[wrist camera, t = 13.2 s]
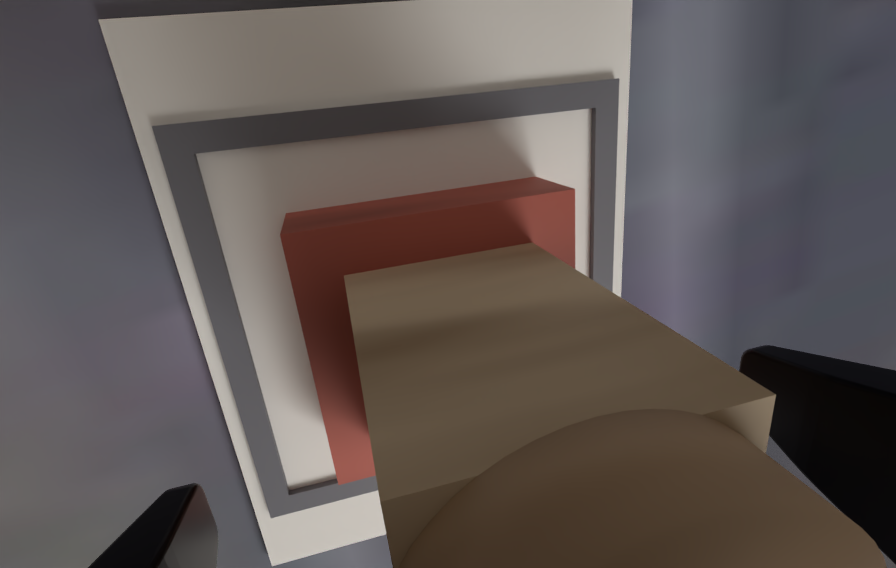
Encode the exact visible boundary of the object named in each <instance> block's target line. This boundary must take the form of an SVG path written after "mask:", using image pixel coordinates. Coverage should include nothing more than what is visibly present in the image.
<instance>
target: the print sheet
mask: <svg viewBox="0 0 896 568" xmlns="http://www.w3.org/2000/svg"><path fill="white" fill-rule="evenodd" d="M632 1H633V0H410V1H394V2H377V3H361V4H344V5H328V6H311V7H295V8H279V9H262V10H246V11H229V12H213V13H196V14H180V15H164V16H147V17H131V18H114V19H98V20H99V24H100V27H101V30H102V33H103V36H104V39H105V42H106V46H107V49H108V52H109V55H110V58H111V61H112V64H113V68H114V71H115V74H116V77H117V80H118V83H119V86H120V90H121V93H122V96H123V99H124V102H125V105H126V108H127V112H128V115H129V118H130V121H131V124H132V127H133V130H134V134H135V137H136V140H137V143H138V146H139V149H140V152H141V156H142V159H143V162H144V165H145V168H146V171H147V174H148V178H149V181H150V184H151V187H152V190H153V193H154V196H155V200H156V203H157V206H158V209H159V212H160V215H161V218H162V222H163V225H164V228H165V231H166V234H167V237H168V240H169V244H170V247H171V250H172V253H173V256H174V259H175V263H176V266H177V269H178V272H179V275H180V278H181V281H182V285H183V288H184V291H185V294H186V297H187V300H188V303H189V307H190V310H191V313H192V316H193V319H194V322H195V325H196V329H197V332H198V335H199V338H200V341H201V344H202V347H203V351H204V354H205V357H206V360H207V363H208V366H209V369H210V373H211V376H212V379H213V382H214V385H215V388H216V391H217V395H218V398H219V401H220V404H221V407H222V410H223V413H224V417H225V420H226V423H227V426H228V429H229V432H230V435H231V439H232V442H233V445H234V448H235V451H236V454H237V457H238V461H239V464H240V467H241V470H242V473H243V476H244V479H245V483H246V486H247V489H248V492H249V495H250V498H251V502H252V505H253V508H254V511H255V514H256V517H257V520H258V524H259V527H260V530H261V533H262V536H263V539H264V542H265V546H266V549H267V552H268V555H269V558H270V561H271V564H272V566H275V565H278V564H282V563H285V562H289V561H292V560H296V559H299V558H303V557H307V556H310V555H314V554H317V553H321V552H324V551H328V550H331V549H335V548H339V547H342V546H346V545H349V544H353V543H356V542H360V541H363V540H367V539H371V538H374V537H378V536H381V535H385V534H386V529H385V524H384V519H383V514H382V509H381V504H380V498H379V492H378V486H377V479H376V476H372V477H368V478H364V479H360V480H357V481H353V482H349V483H345V484H341V485H338V481H337V476H336V472H335V468H334V464H333V459H332V455H331V451H330V447H329V442H328V438H327V434H326V430H325V425H324V421H323V417H322V412H321V408H320V404H319V400H318V395H317V391H316V387H315V383H314V378H313V374H312V370H311V366H310V361H309V357H308V353H307V348H306V344H305V340H304V336H303V331H302V327H301V323H300V319H299V314H298V310H297V306H296V302H295V297H294V293H293V289H292V284H291V280H290V276H289V272H288V267H287V263H286V259H285V255H284V250H283V246H282V242H281V238H280V233H281V229H282V226H283V222H284V219H285V215H286V213H291V212H298V211H305V210H312V209H318V208H325V207H332V206H339V205H346V204H352V203H359V202H366V201H373V200H380V199H387V198H393V197H400V196H407V195H414V194H421V193H427V192H434V191H441V190H448V189H455V188H461V187H468V186H475V185H482V184H489V183H495V182H502V181H509V180H516V179H523V178H529V177H539V178H542V179H545V180H548V181H551V182H555V183H558V184H561V185H564V186H567V187H570V188H574V189H575V269H576V270H577V271H579V272H581V273H582V274H584V275H585V276H587V277H589V278H590V279H592V280H593V281H595V282H597V283H598V284H600V285H601V286H603V287H605V288H606V289H608V290H609V291H611V292H613V293H614V294H616V295H617V296H619V297H621V280H622V254H623V229H624V203H625V178H626V153H627V127H628V102H629V77H630V51H631V26H632Z"/></svg>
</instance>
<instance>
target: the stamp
mask: <svg viewBox="0 0 896 568" xmlns="http://www.w3.org/2000/svg"><path fill="white" fill-rule="evenodd" d="M280 238H281V242H282V246H283V250H284V255H285V259H286V263H287V267H288V272H289V276H290V280H291V284H292V289H293V293H294V297H295V302H296V306H297V310H298V314H299V319H300V323H301V327H302V331H303V336H304V340H305V344H306V348H307V353H308V357H309V361H310V366H311V370H312V374H313V378H314V383H315V387H316V391H317V395H318V400H319V404H320V408H321V412H322V417H323V421H324V425H325V430H326V434H327V438H328V442H329V447H330V451H331V455H332V459H333V464H334V468H335V472H336V476H337V481H338V485H341V484H345V483H349V482H353V481H357V480H360V479H364V478H368V477H372V476H376V479H377V486H378V492H379V498H380V504H381V509H382V514H383V519H384V524H385V529H386V534H387V539H388V544H389V549H390V555H391V560H392V565H393V568H887V567H886V563H885V560H884V557H883V555H882V553H881V551H880V550H879V548H878V546H877V544H876V543H875V541H874V540H873V539H872V538H871V537H870V536H869V535H868V534H867V533H866V532H865V531H864V530H863V529H862V528H861V527H860V526H859V525H857V524H856V523H855V522H853V521H852V520H851V519H850V518H848V517H847V516H846V515H844V514H843V513H842V512H840V511H839V510H838V509H837V508H835V507H834V506H833V505H831V504H830V503H829V502H828V501H826V500H825V499H824V498H822V497H821V496H820V495H818V494H817V493H816V492H815V491H813V490H812V489H811V488H809V487H808V486H807V485H805V484H804V483H803V482H802V481H800V480H799V479H798V478H796V477H795V476H794V475H793V474H791V473H790V472H789V471H787V470H786V469H785V468H783V467H782V466H781V465H780V464H778V463H777V462H776V461H774V460H773V459H772V458H770V457H769V456H768V455H767V454H766V449H767V443H768V437H769V432H770V426H771V421H772V415H773V409H774V404H775V398H776V394H774V393H773V392H771V391H769V390H768V389H766V388H765V387H763V386H761V385H760V384H758V383H757V382H755V381H753V380H752V379H750V378H749V377H747V376H745V375H744V374H742V373H741V372H739V371H737V370H736V369H734V368H733V367H731V366H729V365H728V364H726V363H725V362H723V361H721V360H720V359H718V358H717V357H715V356H713V355H712V354H710V353H709V352H707V351H705V350H704V349H702V348H701V347H699V346H697V345H696V344H694V343H693V342H691V341H689V340H688V339H686V338H685V337H683V336H681V335H680V334H678V333H677V332H675V331H673V330H672V329H670V328H669V327H667V326H665V325H664V324H662V323H661V322H659V321H657V320H656V319H654V318H653V317H651V316H649V315H648V314H646V313H645V312H643V311H641V310H640V309H638V308H637V307H635V306H633V305H632V304H630V303H629V302H627V301H625V300H624V299H622V298H621V297H619V296H617V295H616V294H614V293H613V292H611V291H609V290H608V289H606V288H605V287H603V286H601V285H600V284H598V283H597V282H595V281H593V280H592V279H590V278H589V277H587V276H585V275H584V274H582V273H581V272H579V271H577V270H576V269H575V189H574V188H570V187H567V186H564V185H561V184H558V183H555V182H551V181H548V180H545V179H542V178H539V177H529V178H523V179H516V180H509V181H502V182H495V183H489V184H482V185H475V186H468V187H461V188H455V189H448V190H441V191H434V192H427V193H421V194H414V195H407V196H400V197H393V198H387V199H380V200H373V201H366V202H359V203H352V204H346V205H339V206H332V207H325V208H318V209H312V210H305V211H298V212H291V213H286V215H285V219H284V222H283V226H282V229H281V233H280Z"/></svg>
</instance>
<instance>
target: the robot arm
mask: <svg viewBox="0 0 896 568" xmlns="http://www.w3.org/2000/svg"><path fill="white" fill-rule="evenodd" d="M739 372H741V373H742V374H744V375H745V376H747V377H749V378H750V379H752V380H753V381H755V382H757V383H758V384H760V385H761V386H763V387H765V388H766V389H768V390H769V391H771V392H773V393H774V394H776V398H775V404H774V409H773V415H772V421H771V426H770V432H769V436H770V437H771V438H772V439H773V440H774V441H775V443H776V444H777V445H778V446H779V447H780V448H781V449H782V451H783V452H784V453H785V454H786V455H787V456H788V457H789V459H790V460H791V461H792V462H793V463H794V464H795V465H796V466H797V468H798V469H799V470H800V471H801V472H802V473H803V474H804V475H805V476H806V477H807V478H808V479H809V480H810V481H811V482H812V483H813V484H814V485H815V486H816V487H817V488H818V489H819V490H820V491H821V492H822V493H823V494H824V495H825V496H826V497H827V498H828V499H829V500H830V501H831V502H832V503H833V504H834V505H835V506H836V507H837V508H838V509H839V510H840V511H841V512H842V513H843V514H844V515H846V516H847V517H848V518H850V519H851V520H852V521H853V522H855V523H856V524H857V525H859V526H860V527H861V528H862V529H863V530H864V531H865V532H866V533H867V534H868V535H869V536H870V537H871V538H872V539H873V540H874V541H875V543H876V544H877V546H878V548H879V549H880V550H881V551H882V552H883V553H884V554H885V555H886V556H887V557H889V558H890V559H891V560H892V561H893V562H894V563H895V564H896V371H895V370H890V369H885V368H880V367H875V366H870V365H865V364H860V363H855V362H850V361H845V360H840V359H835V358H830V357H825V356H820V355H815V354H810V353H805V352H800V351H795V350H790V349H785V348H780V347H775V346H770V345H766V346H760V347H756V348H752V349H748V350H746V351H745V352H744V353H743V355H742V357H741V362H740V369H739ZM217 552H218V531H217V526H216V523H215V520H214V517H213V514H212V512H211V509H210V506H209V503H208V501H207V498H206V495H205V492H204V490H203V488H202V487H201V486H200V485H199V484H196V483H192V484H188V485H184V486H180V487H176V488H172V489H169V490H167V491H165V492H164V493H163V494H162V495H161V496H160V497H159V498H158V499H157V500H156V501H155V502H154V503H153V504H152V505H151V506H150V507H149V508H148V509H147V510H146V511H145V512H144V513H143V514H142V515H141V516H139V517H138V518H137V519H136V520H135V521H134V522H133V523H132V524H131V525H130V526H129V527H128V528H127V529H126V530H125V531H124V532H123V533H122V534H121V535H120V536H119V537H118V538H117V539H116V540H115V541H114V542H113V543H112V544H111V545H110V546H109V547H108V548H107V549H106V550H105V551H104V552H103V553H102V554H101V555H100V556H99V557H98V558H97V559H96V560H95V561H94V562H93V563H92V564H91V565H90V566H89V567H88V568H216V564H217Z"/></svg>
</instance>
